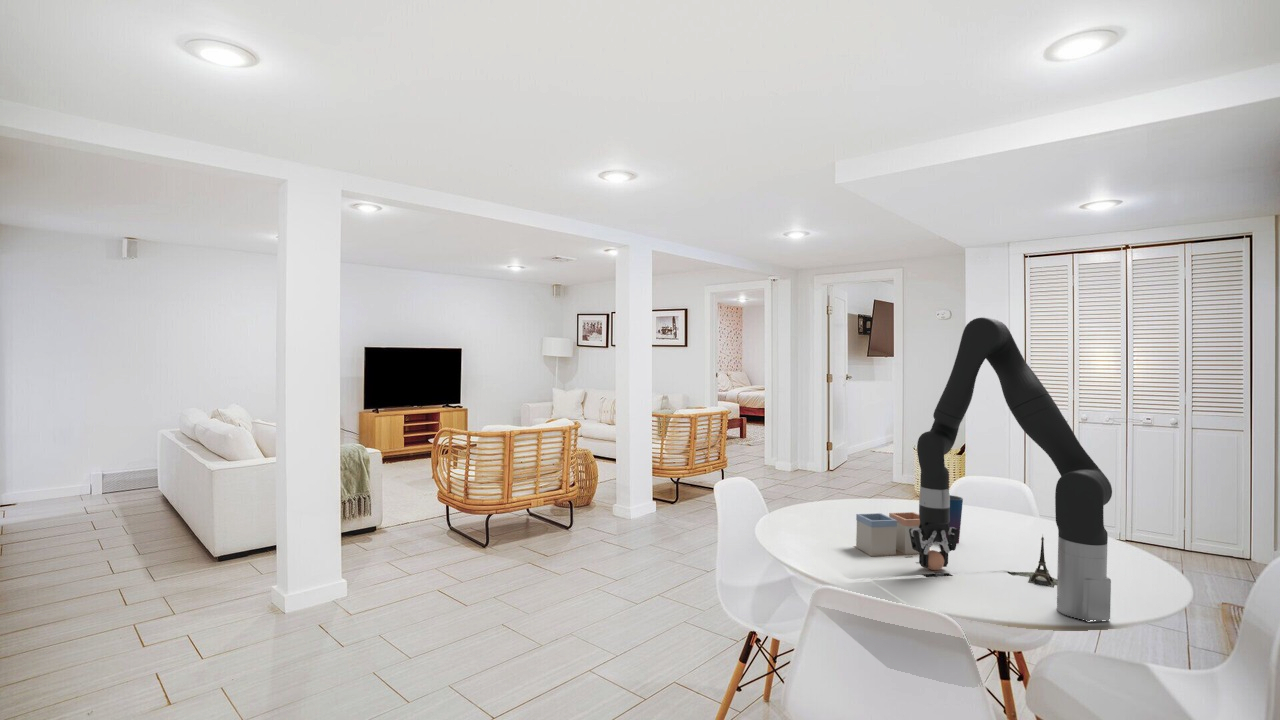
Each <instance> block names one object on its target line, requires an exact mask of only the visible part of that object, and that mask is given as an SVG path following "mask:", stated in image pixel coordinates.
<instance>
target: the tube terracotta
mask: <svg viewBox="0 0 1280 720" xmlns="http://www.w3.org/2000/svg"><path fill="white" fill-rule="evenodd" d="M888 517H890V518H893V519H895V520H897V527H896V550H898V551H900V552H902V553H904V554H918V553H919V552H918V551H916V550H913V549H912V544H911V539H910V533H909V529H910V528H912V529H916V528H919V525H920V519H919V513H916V512H913V511H912V512H909V511H908V512H889V514H888ZM920 535H921V536H922V534H921V533H920ZM921 536H920V539H921ZM925 541H926V542H927V540H925ZM930 548H931V547H930ZM930 548H929V550H928V551H930Z"/></svg>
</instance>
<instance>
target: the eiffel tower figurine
mask: <svg viewBox="0 0 1280 720" xmlns="http://www.w3.org/2000/svg"><path fill="white" fill-rule="evenodd" d="M1040 540H1041V542H1040V543H1041V545H1040V554H1039V555H1040V556H1039V561H1038V565H1037V568H1035V570H1034V572H1033V571H1025V572H1024V571H1007V573H1008V574H1009V575H1011V576H1019V577H1025V578H1028V580H1027V583H1029V584H1034V585H1037V586H1042V587H1048V588H1053V589H1054V588H1055V586H1057V578H1055V577H1052V576H1051V574H1050V572H1049V570H1048V567H1047V565H1046V561H1045V547H1044V546H1045V543H1044V542H1045V541H1044V540H1045V538H1044V535H1042V537H1041V539H1040ZM1041 566H1042V568H1043V569H1042V568H1041Z"/></svg>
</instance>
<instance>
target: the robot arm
mask: <svg viewBox="0 0 1280 720" xmlns="http://www.w3.org/2000/svg"><path fill="white" fill-rule="evenodd" d="M985 360H986V361H987V362H988V363H989V365H990V366H991V367H992V369H993V371H994V372H995V373H996V376H997V378H998V380H999V383H1000V387H1001V391H1002V393H1003V398H1004V401H1005V403H1006V404H1007V407H1008V409H1009V411H1010V412H1011V414H1012V416H1013V418H1014V419H1015V420H1016V422H1017V424H1018V425H1019V426H1020V428H1021V429H1022V431H1024V432H1025V434H1026V435H1027V436H1028V437H1029V438H1030V439H1031V440H1032V441H1033V442H1034V443H1036V444H1037V446H1038V447H1040V448H1041V449H1042V450H1043V451H1044V452H1045V454H1046V455H1047V456H1048V457H1049V458H1050V459H1051V461H1052V463H1053V464H1054V466H1055V468H1056V469H1057V471H1058V473H1059V475H1060V478H1058V479H1057V482H1056V486H1055V493H1054V494H1055V495H1054V499H1055V501H1054V503H1055V504H1054V505H1055V506H1054V507H1055V509H1054V511H1055V512H1054V513H1055V524H1056V527H1057V530H1058V531H1057V532H1058V535H1057V536H1058V537H1057V538H1058V539H1057V540H1058V541H1057V578H1056V579H1057V585H1056V610H1057V611H1058V613H1060V614H1062V615H1064V614H1065V615H1064V616H1066V615H1067V617H1069V616H1071V617H1070V618H1072V617H1074V618H1073V619H1075V618H1079V619H1084V620H1087V621H1090V620H1093V621H1094V620H1096V621H1102V620H1109V619H1110V620H1111V603H1112V602H1111V596H1112V595H1111V594H1112V593H1111V591H1112V580H1111V578H1109V577H1108V576H1107V574H1108V570H1107V569H1108V538H1109V537H1108V536H1109V535H1108V531H1107V529H1106V528H1105V524H1104V523H1105V522H1104V521H1105V520H1104V507H1105V505H1107V504H1108V503H1109V502H1110V501H1111V499H1112V495H1113V488H1112V485H1111V482H1110V481H1109V479H1108V477H1107V475H1105V474H1104V472H1103V471H1102V470H1101V468H1099V466H1098V465H1097V463H1095V462H1094V460H1093V459H1092V457H1091V456H1090V455H1089V454H1088V453H1087V451H1086V450H1085V449H1084V447H1083V446H1082V445H1081V442H1079V440H1078V438H1077V437H1076V435H1075V433H1074V431H1073V430H1072V428H1071V426H1070V424H1069V423H1068V422H1067V420H1066V418H1065V416H1064V415H1063V414H1062V412H1061V410H1060V409H1059V407H1058V405H1057V403H1056V402H1055V401H1054V399H1053V397H1052V395H1050V393H1049V392H1048V390H1047V389H1046V386H1044V385H1043V383H1042V382H1041V380H1040V379H1039V378H1038V376H1037V375H1036V373H1035V372H1034V370H1032V368H1031V367H1030V365H1028V363H1027V362H1026V360H1025V359H1024V357H1023V355H1022V353H1021V351H1020V350H1019V346H1018V345H1017V344H1016V341H1015V339H1014V337H1013V335H1012V333H1011V331H1010V329H1009V328H1008V327H1007V325H1006V324H1005V323H1003V322H1002V321H1000V320H998V319H995V318H994V319H993V318H991V317H990V318H989V317H985V316H983V317H976V318H973V319H972V320H970V321H969V322H968V323H967V324H966V326H965V327H964V328H963V331H962V335H961V338H960V343H959V346H958V351H957V353H956V357H955V360H954V362H953V363H954V364H953V367H952V370H951V372H950V375H949V378H948V379H947V383H946V385H945V387H944V390H943V392H942V394H941V396H940V397H939V400H938V402H937V404H936V406H935V409H934V412H933V414H932V415H933V416H932V417H933V418H934V420H933V423H932V426H931V427H930V430H928V431H925V432H924V433H921V435H920V436H919V437H918V440H917V445H916V452H917V458H918V459H917V460H918V465H919V469H920V485H919V487H920V488H919V494H918V495H919V496H918V498H919V499H918V500H919V501H918V514H919V519H920V525H919V528H916V529H912V528H910V529H909V533H910V539H911V544H912V549H913V550H916V551H918V552H919V555H918V559H919V560H918V562H919V563H918V564H919V565H920V566H921V567H922V568H924V569H929V568H928V554H927V553H928V550H929V548H932V546H933V543H937V545H938V548H939V551H938V552H939V553H940V554H941V555H942V556H943V558H944V566H943V567H942V568H946V567H948V564H949V553H950V552H951V551H952V552H953V551H955V550H957V549H956V547H957V544H958V543H957V539H958V534H959V530H958V529H956V528H954V527H949V525H948V523H949V522H950V495H951V494H950V473H949V469H948V468H947V467H946V465H945V464H946V463H945V455H947V454H948V453H950V451H951V450H952V448H953V447H954V444H955V442H956V439H957V436H958V433H959V430H960V425H961V424H962V422H963V419H964V417H965V415H966V414H967V413H966V412H967V411H968V408H969V407H970V406H971V405H970V404H971V403H972V402H971V401H972V398H973V395H974V390H975V384H976V380H977V377H978V374H979V371H980V369H981V366H982V364H983V363H984V362H985ZM920 533H921V534H922V536H921V535H920ZM947 533H948V537H947V538H946V535H947ZM920 536H921V539H920ZM925 540H927V542H926V541H925ZM951 542H952V543H951ZM1079 619H1078V620H1079ZM1102 622H1103V621H1102Z"/></svg>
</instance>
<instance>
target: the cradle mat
mask: <svg viewBox="0 0 1280 720" xmlns="http://www.w3.org/2000/svg"><path fill="white" fill-rule="evenodd" d="M905 558H908V559H909V558H913V555H908V556H905ZM915 563H916V564H920V563H919V561H918V562H917V561H916V562H915ZM921 576H923V577H925V578H940V577H954V575H953V574H950V573H948V572H943V571H935V572H933V573H927V574H926V573H925V574H921Z"/></svg>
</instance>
